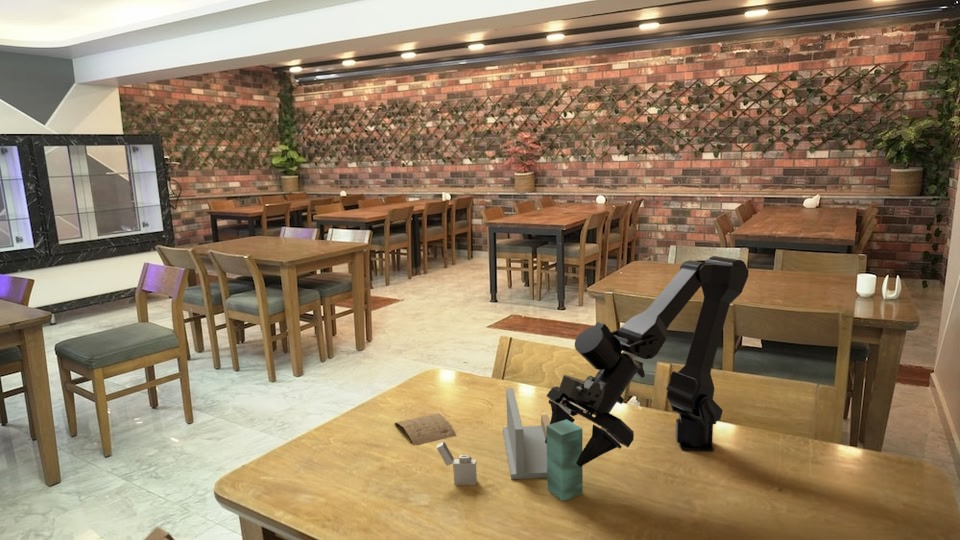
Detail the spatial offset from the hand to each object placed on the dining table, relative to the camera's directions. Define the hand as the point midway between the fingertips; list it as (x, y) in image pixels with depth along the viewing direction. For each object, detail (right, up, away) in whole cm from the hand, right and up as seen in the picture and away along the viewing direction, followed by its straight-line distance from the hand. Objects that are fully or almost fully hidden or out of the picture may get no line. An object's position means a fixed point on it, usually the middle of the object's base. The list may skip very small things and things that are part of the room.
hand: (561, 454), depth 108 cm
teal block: (+1, -7, +2) cm, 7 cm away
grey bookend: (-4, -5, +16) cm, 17 cm away
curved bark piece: (-27, -4, +29) cm, 40 cm away
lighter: (-19, -7, +6) cm, 21 cm away
